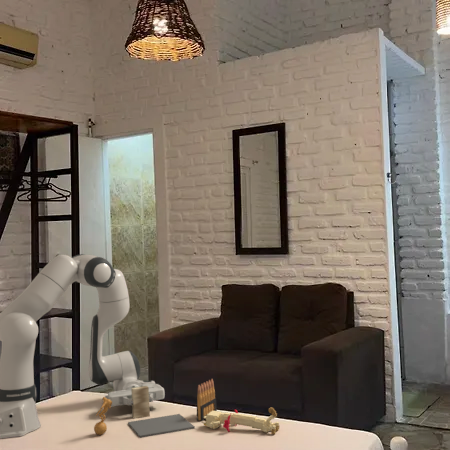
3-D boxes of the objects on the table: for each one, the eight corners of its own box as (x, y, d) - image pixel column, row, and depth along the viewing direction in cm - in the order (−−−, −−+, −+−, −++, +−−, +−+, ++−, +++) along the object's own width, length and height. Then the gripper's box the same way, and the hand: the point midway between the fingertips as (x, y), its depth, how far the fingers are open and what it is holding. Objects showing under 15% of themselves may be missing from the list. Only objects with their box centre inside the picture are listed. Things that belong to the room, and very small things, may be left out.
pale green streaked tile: (134, 418, 210) (133, 389, 211) (132, 416, 213) (131, 387, 213) (149, 416, 212) (148, 387, 213) (147, 414, 215) (146, 385, 215)
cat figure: (281, 431, 194) (208, 419, 203) (282, 404, 194) (209, 393, 203) (271, 442, 185) (196, 429, 194) (272, 413, 185) (197, 401, 194)
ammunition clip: (201, 421, 204) (200, 385, 204) (196, 421, 205) (195, 385, 205) (217, 412, 213) (215, 378, 213) (212, 412, 214) (210, 377, 214)
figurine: (101, 430, 199) (100, 393, 200) (118, 431, 197) (116, 393, 198) (88, 438, 191) (86, 400, 192) (105, 439, 190) (103, 400, 190)
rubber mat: (139, 437, 190) (139, 435, 190) (128, 423, 205) (128, 422, 205) (194, 428, 197) (194, 426, 197) (179, 415, 212) (179, 413, 212)
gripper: (103, 387, 221) (110, 396, 208) (157, 380, 228) (168, 388, 216) (103, 405, 221) (111, 414, 208) (158, 397, 228) (169, 406, 216)
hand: (141, 401), depth 212 cm, fingers closed on pale green streaked tile, 5 cm apart
